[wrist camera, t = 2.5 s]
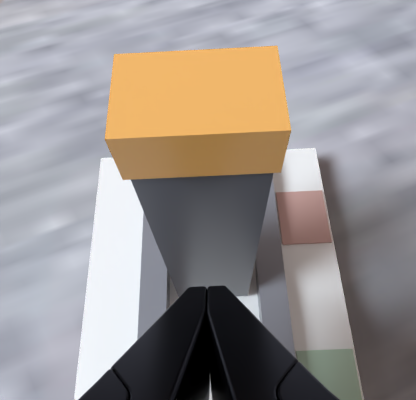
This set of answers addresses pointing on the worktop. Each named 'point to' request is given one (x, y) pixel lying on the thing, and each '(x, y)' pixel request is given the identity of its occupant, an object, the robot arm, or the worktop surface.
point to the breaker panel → (255, 301)
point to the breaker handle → (201, 154)
